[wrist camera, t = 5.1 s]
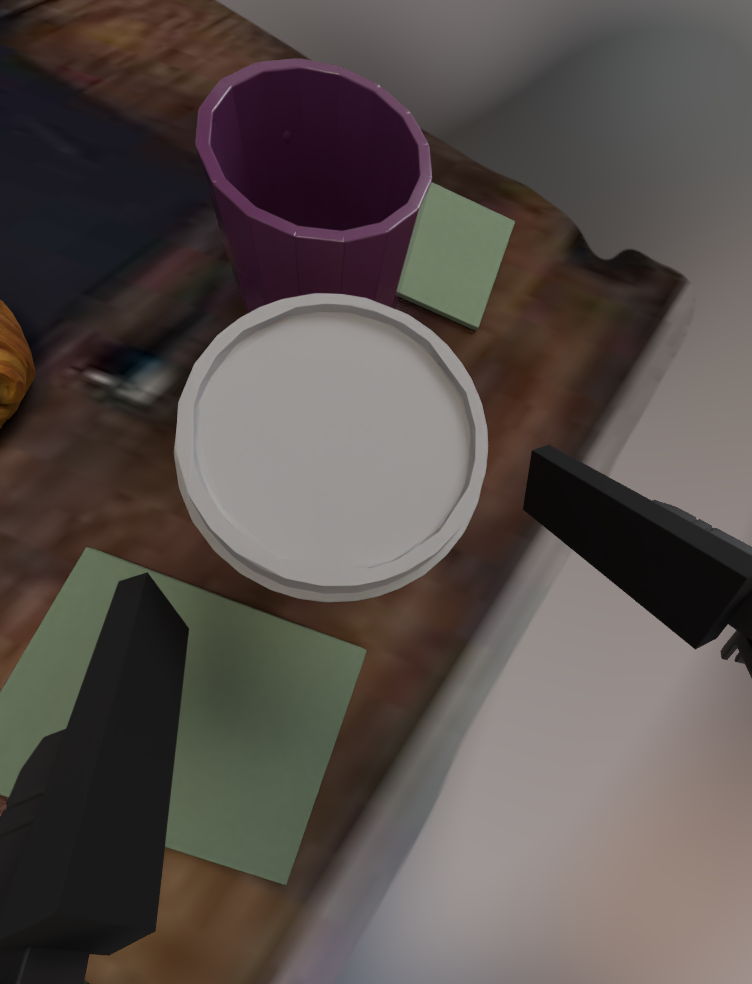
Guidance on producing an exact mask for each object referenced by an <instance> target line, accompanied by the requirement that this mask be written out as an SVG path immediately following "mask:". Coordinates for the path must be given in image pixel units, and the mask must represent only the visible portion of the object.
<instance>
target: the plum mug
mask: <svg viewBox="0 0 752 984" xmlns="http://www.w3.org/2000/svg"><path fill="white" fill-rule="evenodd" d="M195 145H196V149H197V153H198V156H199V159H200V163H201V166H202V169H203V173H204V176H205V180H206V183H207V186H208V190H209V193H210V196H211V200H212V203H213V207H214V210H215V213H216V217H217V220H218V223H219V227H220V230H221V233H222V237H223V240H224V244H225V247H226V250H227V254H228V257H229V260H230V264H231V267H232V271H233V274H234V277H235V281H236V284H237V287H238V291H239V294H240V297H241V301H242V304H243V308H244V311H245V314H248V313H250V312H252V311H253V310H255V309H257V308H259V307H262V306H264V305H267V304H270V303H273V302H276V301H278V300H281V299H286V298H291V297H297V296H303V295H308V294H314V293H324V294H345V295H351V296H357V297H363V298H367V299H370V300H373V301H375V302H378V303H380V304H383V305H386V306H388V307H391V308H393V309H395V308H396V304H397V301H398V297H399V294H400V290H401V287H402V283H403V280H404V276H405V273H406V269H407V266H408V262H409V259H410V255H411V252H412V248H413V245H414V242H415V238H416V235H417V231H418V228H419V224H420V221H421V217H422V214H423V210H424V207H425V203H426V200H427V196H428V193H429V189H430V186H431V182H432V172H431V161H430V149H429V144H428V142H427V140H426V139H425V137H424V135H423V133H422V132H421V130H420V128H419V126H418V124H417V123H416V121H415V119H414V117H413V115H412V114H411V113H410V111H408V110H407V109H406V108H405V107H404V106H403V105H402V104H401V103H399V102H398V101H397V100H396V99H395V98H394V97H393V96H392V95H391V94H389V93H388V92H387V91H386V90H385V89H384V88H382V87H381V86H379V85H378V84H376V83H374V82H372V81H370V80H368V79H366V78H364V77H362V76H359V75H358V74H356V73H354V72H351V71H349V70H347V69H345V68H343V67H340V66H336V65H331V64H325V63H320V62H315V61H310V60H304V59H297V58H296V59H285V60H275V61H265V62H257V63H253V64H251V65H249V66H247V67H245V68H243V69H241V70H239V71H237V72H235V73H233V74H231V75H229V76H227V77H225V78H222V79H221V80H220V81H219V82H218V84H217V85H216V86H215V87H214V89H213V90H212V91H211V93H210V94H209V95H208V97H207V98H206V99H205V101H204V102H203V103H202V104H201V106H200V109H199V112H198V122H197V133H196V143H195Z"/></svg>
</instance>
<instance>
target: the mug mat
mask: <svg viewBox="0 0 752 984" xmlns="http://www.w3.org/2000/svg"><path fill="white" fill-rule="evenodd" d="M514 223H515V221H513V220H511V219H509V218H507V217H504V216H502V215H500V214H498V213H496V212H494V211H492V210H490V209H487V208H485V207H483V206H481V205H479V204H477V203H475V202H472V201H470V200H468V199H466V198H464V197H462V196H460V195H458V194H455V193H453V192H451V191H449V190H447V189H445V188H443V187H441V186H438V185H436V184H434V183H432V182H431V186H430V189H429V193H428V196H427V200H426V203H425V207H424V210H423V214H422V217H421V221H420V224H419V228H418V231H417V235H416V238H415V242H414V245H413V248H412V252H411V255H410V259H409V262H408V266H407V269H406V273H405V276H404V280H403V283H402V287H401V290H400V294H399V297H400V298H403V299H405V300H407V301H409V302H412V303H414V304H416V305H418V306H421V307H423V308H425V309H427V310H430V311H432V312H434V313H436V314H439V315H441V316H443V317H445V318H448V319H450V320H452V321H454V322H457V323H459V324H461V325H463V326H466V327H468V328H470V329H473V330H475V331H477V329H478V327H479V324H480V322H481V319H482V316H483V313H484V310H485V307H486V304H487V301H488V298H489V295H490V293H491V290H492V287H493V284H494V281H495V278H496V275H497V272H498V269H499V267H500V264H501V261H502V258H503V255H504V252H505V249H506V246H507V243H508V240H509V238H510V235H511V232H512V229H513V226H514Z"/></svg>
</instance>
